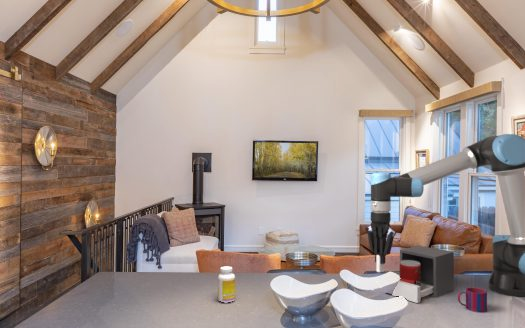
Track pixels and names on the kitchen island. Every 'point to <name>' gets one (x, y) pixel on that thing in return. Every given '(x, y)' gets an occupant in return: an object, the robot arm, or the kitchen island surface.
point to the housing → (433, 267)
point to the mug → (475, 299)
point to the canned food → (410, 272)
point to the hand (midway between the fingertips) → (380, 271)
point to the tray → (412, 291)
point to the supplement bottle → (226, 284)
